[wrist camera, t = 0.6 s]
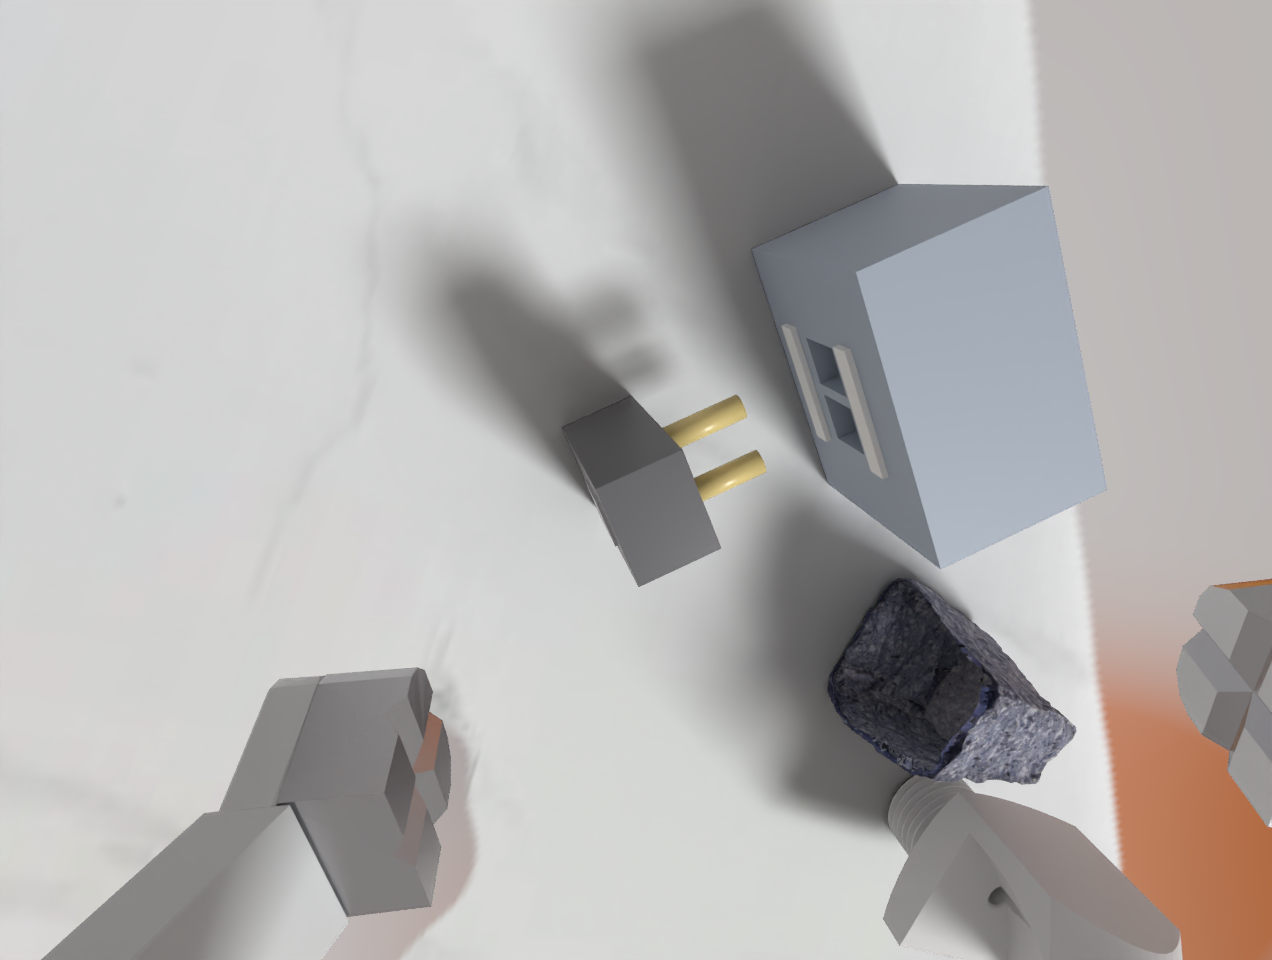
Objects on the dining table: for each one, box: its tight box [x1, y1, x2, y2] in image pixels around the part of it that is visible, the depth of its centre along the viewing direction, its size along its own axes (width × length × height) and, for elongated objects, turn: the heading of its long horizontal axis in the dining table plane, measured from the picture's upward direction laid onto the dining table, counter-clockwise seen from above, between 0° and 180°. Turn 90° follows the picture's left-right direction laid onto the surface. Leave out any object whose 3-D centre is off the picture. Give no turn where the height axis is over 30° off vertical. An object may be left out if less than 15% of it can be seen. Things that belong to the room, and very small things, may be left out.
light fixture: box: [883, 775, 1182, 960], centre depth 51 cm, size 9×9×20 cm
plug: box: [562, 395, 766, 587], centre depth 43 cm, size 5×8×10 cm, turn 112°
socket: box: [751, 184, 1107, 569], centre depth 43 cm, size 14×9×12 cm, turn 21°
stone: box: [827, 578, 1076, 785], centre depth 52 cm, size 12×10×10 cm
